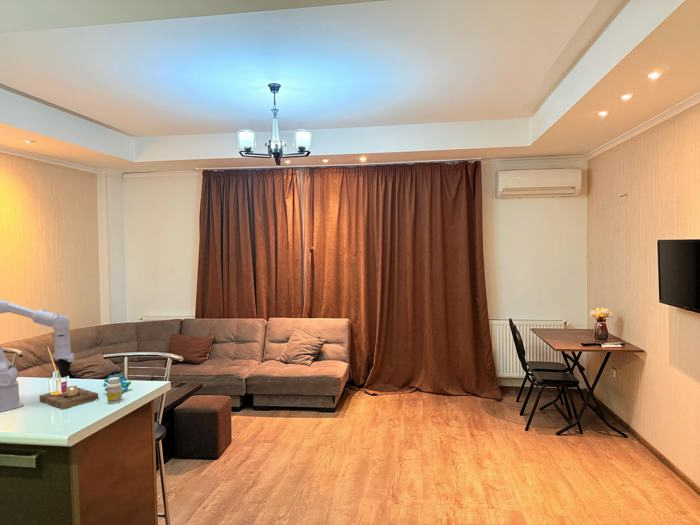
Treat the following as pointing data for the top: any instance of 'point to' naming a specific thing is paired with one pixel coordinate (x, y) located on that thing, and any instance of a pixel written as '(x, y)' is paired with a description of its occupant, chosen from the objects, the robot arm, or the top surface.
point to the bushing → (72, 391)
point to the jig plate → (68, 399)
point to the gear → (123, 384)
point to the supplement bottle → (114, 390)
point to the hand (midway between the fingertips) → (64, 377)
